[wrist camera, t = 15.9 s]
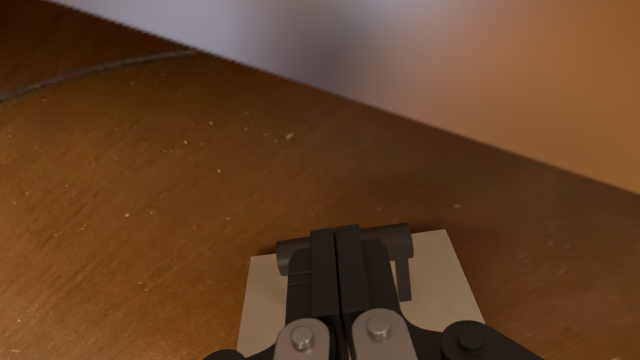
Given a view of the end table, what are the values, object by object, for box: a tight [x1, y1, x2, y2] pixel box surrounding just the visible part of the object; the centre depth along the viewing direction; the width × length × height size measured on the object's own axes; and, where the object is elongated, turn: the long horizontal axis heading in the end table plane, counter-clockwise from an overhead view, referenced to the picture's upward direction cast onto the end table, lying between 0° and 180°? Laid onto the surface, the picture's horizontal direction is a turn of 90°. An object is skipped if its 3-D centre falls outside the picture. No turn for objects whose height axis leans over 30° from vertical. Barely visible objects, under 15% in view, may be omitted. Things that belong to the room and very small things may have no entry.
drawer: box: [236, 223, 485, 360], centre depth 26 cm, size 18×11×8 cm, turn 9°
